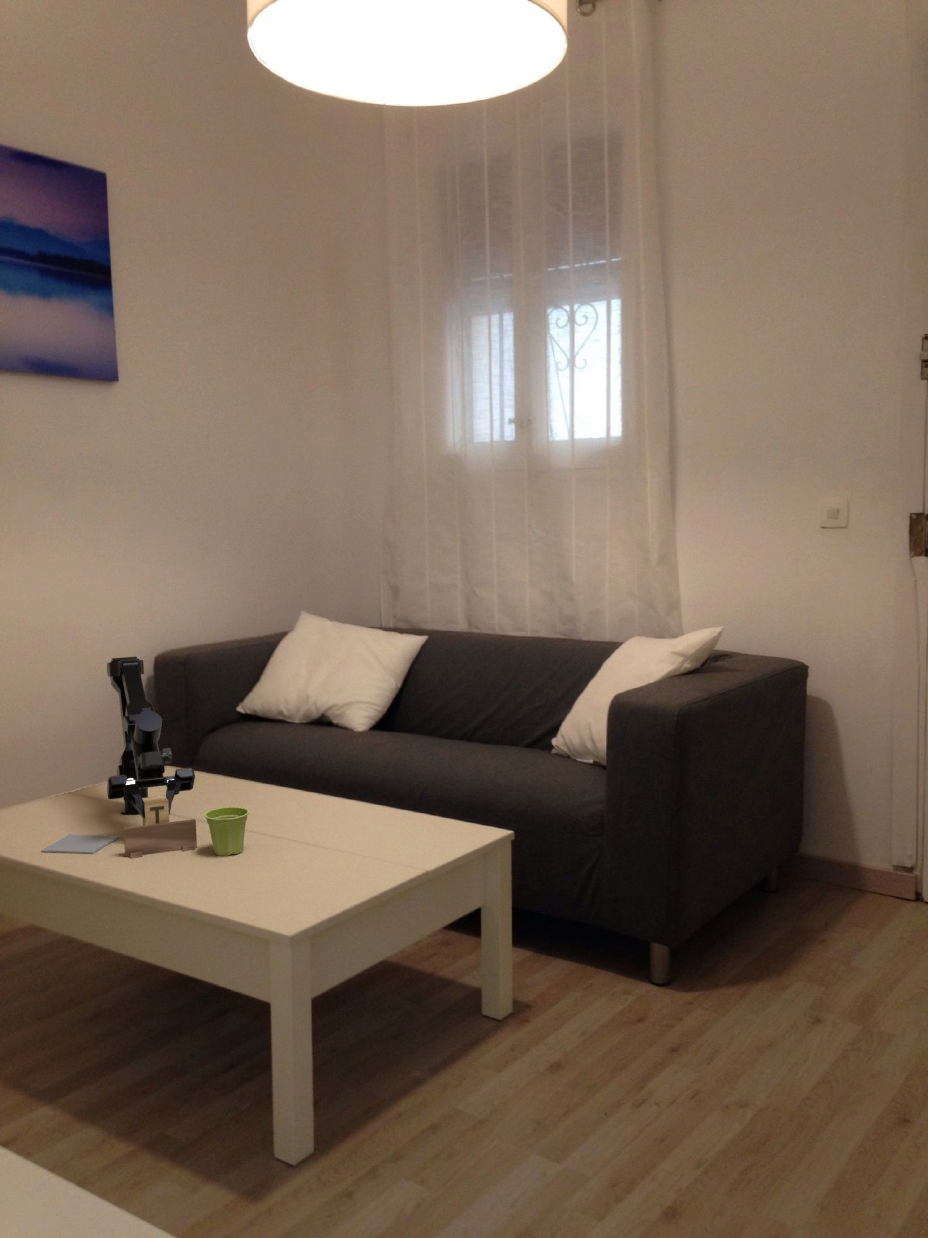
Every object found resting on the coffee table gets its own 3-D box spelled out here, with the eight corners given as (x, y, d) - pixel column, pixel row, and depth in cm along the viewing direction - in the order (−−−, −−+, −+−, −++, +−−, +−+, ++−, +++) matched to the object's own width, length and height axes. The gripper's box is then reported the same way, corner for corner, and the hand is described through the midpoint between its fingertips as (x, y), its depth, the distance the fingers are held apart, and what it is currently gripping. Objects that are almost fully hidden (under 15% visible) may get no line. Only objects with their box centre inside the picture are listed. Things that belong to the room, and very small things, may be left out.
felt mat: (69, 836, 255) (69, 834, 255) (118, 837, 253) (118, 836, 253) (41, 852, 243) (41, 850, 243) (93, 854, 241) (93, 852, 241)
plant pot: (240, 859, 236) (238, 819, 235) (198, 857, 238) (197, 817, 237) (257, 846, 245) (255, 807, 244) (217, 844, 247) (215, 806, 246)
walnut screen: (124, 853, 241) (123, 826, 240) (194, 844, 247) (193, 817, 247) (126, 858, 237) (125, 831, 237) (198, 849, 243) (196, 822, 243)
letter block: (143, 842, 249) (141, 798, 248) (166, 839, 252) (164, 795, 251) (147, 848, 245) (145, 803, 244) (170, 845, 247) (168, 800, 246)
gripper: (106, 740, 246) (114, 801, 237) (191, 732, 253) (203, 791, 244) (103, 768, 254) (111, 828, 245) (187, 760, 261) (197, 817, 252)
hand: (156, 815), depth 246 cm, fingers closed on letter block, 5 cm apart
